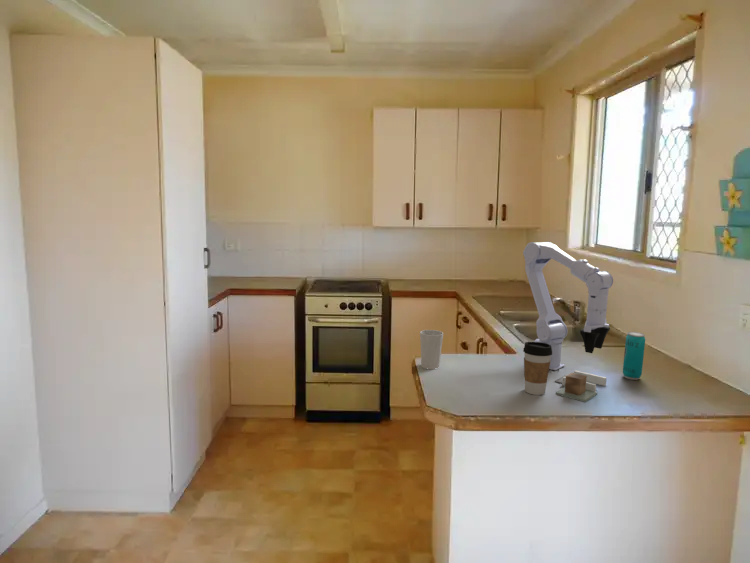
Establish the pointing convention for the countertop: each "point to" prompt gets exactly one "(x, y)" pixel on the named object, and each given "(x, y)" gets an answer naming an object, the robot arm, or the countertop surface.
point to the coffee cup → (536, 366)
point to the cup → (431, 348)
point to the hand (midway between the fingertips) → (593, 350)
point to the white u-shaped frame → (590, 378)
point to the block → (575, 383)
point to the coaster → (582, 397)
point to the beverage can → (633, 355)
